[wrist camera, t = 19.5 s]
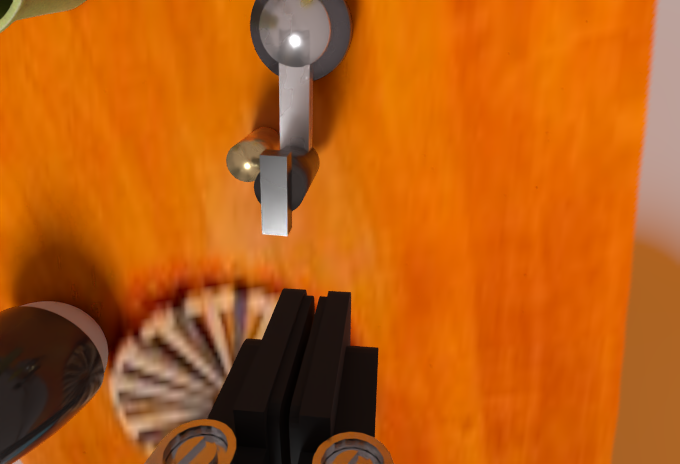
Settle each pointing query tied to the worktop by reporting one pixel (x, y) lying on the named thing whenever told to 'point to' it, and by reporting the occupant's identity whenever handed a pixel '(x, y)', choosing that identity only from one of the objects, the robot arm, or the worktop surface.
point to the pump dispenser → (45, 372)
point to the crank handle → (291, 107)
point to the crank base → (247, 152)
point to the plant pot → (32, 9)
